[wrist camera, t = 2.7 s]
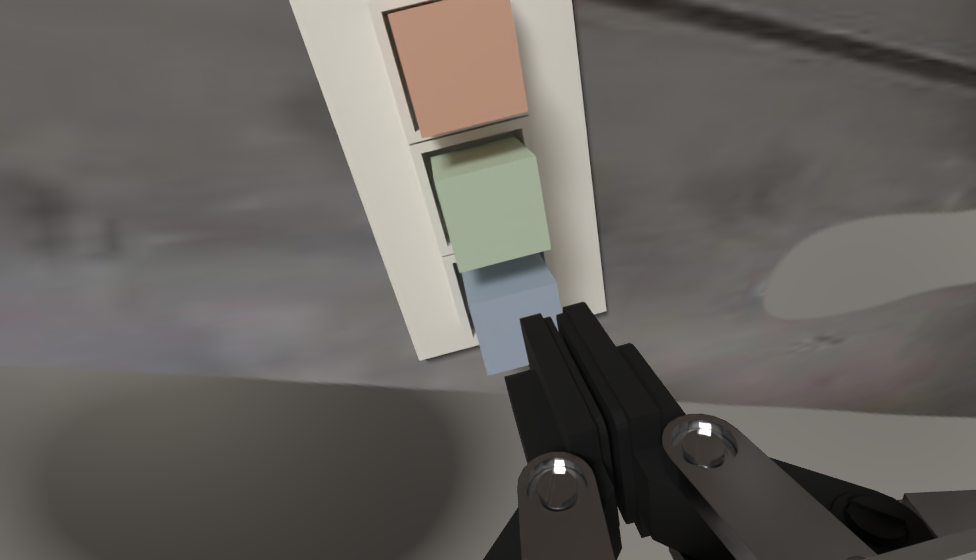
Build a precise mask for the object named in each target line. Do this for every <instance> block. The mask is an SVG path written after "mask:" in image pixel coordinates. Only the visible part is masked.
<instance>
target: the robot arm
mask: <svg viewBox="0 0 976 560" xmlns="http://www.w3.org/2000/svg"><path fill="white" fill-rule="evenodd" d="M562 311H563V313H561V314H557V315H556V320H557V326H558V330H557V328H556V326H555V324H554V322H553V320H552V318H551V317H550V316H549V317H546V318H543V316H542V314H541V313H538V314H535V315H531V316H527V317H523V318H520V325H521V330H522V335H523V339H524V344H525V348H526V353H527V357H528V362H529V367H530V370H528V371H524V372H520V373H517V374H513V375H509V376H506V377H505V382H506V386H507V390H508V394H509V397H510V401H511V405H512V409H513V412H514V417H515V420H516V424H517V428H518V431H519V435H520V439H521V442H522V446H523V449H524V453H525V456H526V460H527V465H526V466H525V467H524V468H523V470H522V472H521V474H520V476H519V479H518V487H517V493H518V508H517V510H516V511H515V513H514V515H513V516H512V517H511V519H510V521H509V522H508V523H507V525H506V526H505V528H504V529H503V531H502V532H501V534H500V535H499V537H498V538H497V540H496V541H495V543H494V544H493V546H492V547H491V549H490V550H489V552H488V553H487V555H486V556H485V558H484V559H483V560H617V558H618V556H619V553H620V551H621V549H622V544H621V537H620V529H619V526H620V525H619V516H618V509H617V506H618V508H619V510H620V512H621V515H622V517H623V519H624V521H625V522H626V524H630V523H635V525H636V527H637V529H638V531H639V533H640V535H641V538H644V537H647V536H651V537H652V539H653V540H655V541H657V542H659V543H662V544H664V545H666V546H668V547H669V552H670V554H671V555H672V557H673V559H674V560H976V490H964V491H963V490H962V491H944V492H924V493H905V494H904V496H903V499H902V500H896V499H894V498H892V497H889V496H887V495H885V494H882V493H880V492H877V491H875V490H872V489H868V488H865V487H862V486H858V485H856V484H852V483H849V482H846V481H843V480H839V479H837V478H833V477H830V476H827V475H824V474H820V473H817V472H814V471H811V470H807V469H805V468H801V467H798V466H795V465H792V464H789V463H786V462H782V461H779V460H776V459H773V458H770V457H768V456H767V455H766V454H765V453H763V452H762V451H761V450H760V449H759V448H758V447H757V446H756V445H755V444H753V443H752V442H751V441H750V440H749V439H748V438H747V437H746V436H745V435H743V434H742V433H741V432H740V431H739V430H738V429H737V428H735V427H734V426H733V425H731V424H730V423H728V422H727V421H725V420H722V419H720V418H717V417H715V416H710V415H705V414H688V415H686V414H685V413H684V412H683V410H682V409H681V407H680V406H679V405H678V403H677V402H676V401H675V399H674V398H673V397H672V395H671V394H670V393H669V391H668V390H667V389H666V387H665V386H664V385H663V383H662V382H661V381H660V379H659V378H658V377H657V375H656V374H655V373H654V371H653V370H652V369H651V367H650V366H649V365H648V363H647V362H646V361H645V359H644V358H643V357H642V355H641V354H640V353H639V351H638V350H637V349H636V347H635V346H634V345H633V344H631V343H628V344H624V345H621V346H617V347H616V346H615V345H614V343H613V342H612V340H611V339H610V337H609V336H608V335H607V333H606V332H605V330H604V329H603V327H602V326H601V324H600V323H599V321H598V320H597V319H596V317H595V316H594V314H593V313H592V311H591V310H590V308H589V307H588V305H587V304H586V303H585V302H580V303H576V304H572V305H569V306H565V307H563V309H562Z"/></svg>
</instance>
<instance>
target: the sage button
mask: <svg viewBox="0 0 976 560" xmlns="http://www.w3.org/2000/svg"><path fill="white" fill-rule="evenodd" d="M430 158H431V164H432V171H433V178H434V183H435V187H436V190H437V194H438V198H439V201H440V205H441V208H442V212H443V216H444V219H445V223H446V226H447V230H448V234H449V237H450V241H451V244H452V248H453V252H454V255H455V259H456V262H457V266H458V270H459V273H462V272H466V271H470V270H473V269H477V268H481V267H485V266H489V265H493V264H496V263H500V262H504V261H508V260H512V259H516V258H519V257H523V256H527V255H531V254H535V253H539V252H542V251H546V250H550V249H551V244H550V238H549V232H548V226H547V220H546V214H545V208H544V202H543V196H542V190H541V184H540V178H539V171H538V165H537V159H536V156H535V155H534V154H533V153H532V152H531V151H530V150H529V149H528V148H527V147H526V146H525V145H523V144H522V143H521V142H520V141H519V140H518V139H517V138H516V137H515V136H512V137H508V138H504V139H500V140H496V141H492V142H488V143H484V144H480V145H476V146H472V147H468V148H465V149H461V150H457V151H453V152H449V153H445V154H441V155H437V156H433V157H430Z"/></svg>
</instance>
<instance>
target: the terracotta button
mask: <svg viewBox="0 0 976 560" xmlns="http://www.w3.org/2000/svg"><path fill="white" fill-rule="evenodd" d="M388 18H389V21H390V25H391V28H392V32H393V36H394V39H395V43H396V46H397V50H398V54H399V57H400V61H401V64H402V68H403V72H404V75H405V79H406V82H407V86H408V90H409V93H410V97H411V100H412V104H413V108H414V111H415V115H416V118H417V122H418V126H419V129H420V133H421V136H422V138H425V137H429V136H433V135H437V134H441V133H445V132H449V131H453V130H457V129H461V128H465V127H469V126H473V125H477V124H481V123H485V122H489V121H493V120H497V119H501V118H505V117H509V116H513V115H516V114H520V113H524V112H528V105H527V99H526V93H525V87H524V81H523V75H522V69H521V63H520V57H519V51H518V45H517V39H516V33H515V27H514V21H513V15H512V9H511V3H510V0H443V1H439V2H435V3H431V4H427V5H423V6H419V7H415V8H411V9H407V10H402V11H398V12H394V13H390V14H388Z"/></svg>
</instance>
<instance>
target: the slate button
mask: <svg viewBox="0 0 976 560" xmlns="http://www.w3.org/2000/svg"><path fill="white" fill-rule="evenodd" d="M462 277H463V282H464V287H465V291H466V296H467V301H468V306H469V309H470V313H471V316H472V320H473V324H474V327H475V331H476V334H477V338H478V342H479V345H480V349H481V352H482V356H483V360H484V363H485V367H486V370H487V374H488V376H489V375H493V374H496V373H500V372H504V371H508V370H511V369H515V368H519V367H523V366H526V365H529V362H528V357H527V353H526V348H525V344H524V339H523V335H522V330H521V325H520V318H523V317H527V316H531V315H535V314H538V313H541V314H542V316H543V318H546V317H549V316H550V317H551V318H552V320H553V322H554V324H555V326H556V328H557V330H558V326H557V320H556V315H557V314H561V313H562V310H561V304H560V298H559V292H558V286H557V282H556V280H555V279H554V277H553V275H552V274H551V272H550V270H549V269H548V267H547V265H546V264H545V262H544V260H543V259H542V257H541V255H540V254H539V253H535V254H531V255H527V256H523V257H519V258H516V259H512V260H508V261H504V262H500V263H496V264H493V265H489V266H485V267H481V268H477V269H473V270H470V271H466V272H462Z"/></svg>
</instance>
